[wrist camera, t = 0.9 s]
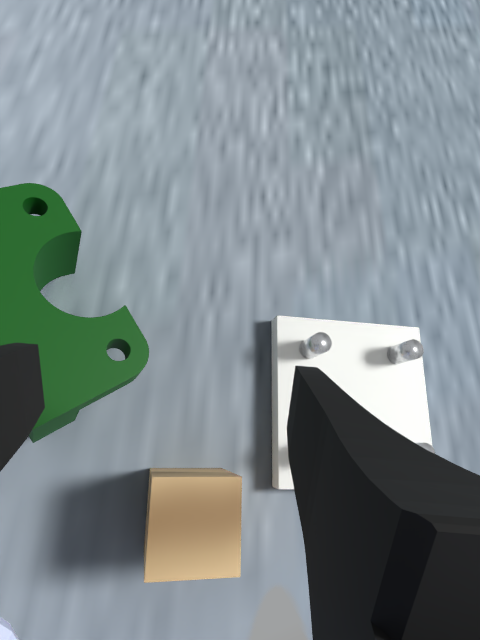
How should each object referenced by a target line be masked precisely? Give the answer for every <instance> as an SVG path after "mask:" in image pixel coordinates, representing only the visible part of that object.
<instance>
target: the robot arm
mask: <svg viewBox="0 0 480 640" xmlns="http://www.w3.org/2000/svg"><path fill="white" fill-rule="evenodd" d="M44 408H45V403H44V394H43V385H42V376H41V366H40V357H39V348H38V344H28V343H11V344H5V345H1V346H0V471H1V470H2V469H3V467H4V466H5V465H6V464H7V463H8V461H9V460H10V459H11V458H12V456H13V455H14V454H15V453H16V451H17V450H18V449H19V448H20V446H21V445H22V444H23V442H24V441H25V440H26V439H27V437H28V436H29V434H30V433H31V431H32V429H33V428H34V426H35V424H36V423H37V421H38V419H39V417H40V416H41V414H42V412H43V410H44ZM287 443H288V458H289V464H290V469H291V475H292V480H293V485H294V490H295V495H296V500H297V506H298V511H299V516H300V521H301V526H302V531H303V538H304V544H305V552H306V563H307V573H308V584H309V596H310V609H311V621H312V634H313V640H480V476H479V475H477V474H475V473H472V472H470V471H468V470H466V469H464V468H462V467H460V466H457V465H455V464H453V463H451V462H449V461H447V460H446V459H444V458H442V457H440V456H438V455H436V454H434V453H432V452H430V451H428V450H426V449H425V448H423V447H421V446H419V445H418V444H416V443H414V442H412V441H411V440H409V439H408V438H406V437H405V436H403V435H401V434H400V433H398V432H397V431H395V430H394V429H392V428H391V427H389V426H388V425H386V424H385V423H383V422H382V421H381V420H379V419H378V418H377V417H375V416H374V415H373V414H371V413H370V412H369V411H367V410H366V409H365V408H364V407H362V406H361V405H360V404H359V403H357V402H356V401H355V400H354V399H353V398H352V397H350V396H349V395H348V394H347V393H346V392H345V391H344V390H342V389H341V388H340V387H339V386H338V385H337V384H336V383H335V382H334V381H333V380H331V379H330V378H329V377H328V376H327V375H326V374H325V373H324V372H323V371H321V370H320V369H319V368H317V367H307V366H295V372H294V379H293V386H292V393H291V400H290V407H289V415H288V422H287ZM0 640H19V639H18V637H17V635H16V633H15V631H14V630H13V628H12V626H11V624H10V623H9V622H7V621H6V620H4V619H3V618H1V617H0Z"/></svg>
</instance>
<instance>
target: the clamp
mask: <svg viewBox="0 0 480 640" xmlns="http://www.w3.org/2000/svg"><path fill="white" fill-rule="evenodd" d="M30 214H38V215H41V216H32V215H30ZM80 238H81V230H80V228H79V226H78V225H77V223H76V221H75V219H74V218H73V216H72V214H71V213H70V211H69V209H68V208H67V206H66V204H65V203H64V201H63V199H62V198H61V197H60V196H59V195H58V194H57V193H56V192H55V191H54V190H52V189H50V188H48V187H46V186H43V185H40V184H34V183H25V184H19V185H14V186H9V187H4V188H0V346H1V345H5V344H11V343H28V344H38V348H39V357H40V366H41V376H42V385H43V394H44V403H45V408H44V410H43V412H42V414H41V416H40V417H39V419H38V421H37V423H36V424H35V426H34V428H33V429H32V431H31V433H30V434H29V437H30V439H31V440H32V442H33V443H34V442H36V441H38V440H39V439H41V438H43V437H45V436H47V435H49V434H50V433H52V432H54V431H56V430H58V429H60V428H61V427H63V426H65V425H67V424H69V423H71V422H72V421H74V420H75V419H76V416H77V414H78V412H79V410H80V409H82V408H84V407H86V406H87V405H89V404H91V403H93V402H95V401H97V400H99V399H101V398H102V397H104V396H106V395H108V394H110V393H112V392H114V391H115V390H117V389H119V388H121V387H123V386H125V385H127V384H129V383H130V382H132V381H133V380H134V379H135V378H136V377H137V376H138V375H139V373H140V372H141V371H142V370H143V368H144V367H145V365H146V363H147V361H148V357H149V348H148V344H147V341H146V339H145V338H144V336H143V334H142V333H141V331H140V329H139V327H138V326H137V324H136V322H135V321H134V319H133V317H132V316H131V314H130V312H129V311H128V309H127V307H126V306H123V307H122V308H121V309H119V310H118V311H116V312H114V313H112V314H109V315H106V316H102V317H94V318H85V317H78V316H74V315H70V314H68V313H65V312H63V311H61V310H59V309H57V308H56V307H54V306H53V305H52V304H50V303H49V302H48V301H47V300H46V299H45V298H44V297H43V295H42V294H41V293H40V291H41V289H42V288H43V287H44V286H45V285H46V284H47V283H49V282H50V281H52V280H54V279H56V278H58V277H61V276H64V275H69V274H74V273H75V268H76V262H77V256H78V250H79V244H80ZM110 348H117V349H120V350H121V351H122V352H123V353H124V355H125V360H123V361H114V360H112V359H111V358H110V357H109V356H108V355H107V352H106V350H108V349H110Z"/></svg>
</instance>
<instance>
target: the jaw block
mask: <svg viewBox="0 0 480 640" xmlns="http://www.w3.org/2000/svg"><path fill="white" fill-rule="evenodd" d="M241 497H242V477H241V476H239V475H237V474H234V473H232V472H229V471H227V470H225V469H222V468H150V475H149V489H148V502H147V515H146V528H145V542H144V583H147V582H164V581H181V580H197V579H214V578H231V577H240V565H241Z"/></svg>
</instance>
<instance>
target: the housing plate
mask: <svg viewBox="0 0 480 640" xmlns="http://www.w3.org/2000/svg"><path fill="white" fill-rule="evenodd" d="M271 330H272V487H274V488H277V489H294V485H293V480H292V475H291V469H290V464H289V458H288V443H287V422H288V415H289V407H290V400H291V393H292V386H293V379H294V372H295V366H307V367H317V368H319V369H320V370H321V371H323V372H324V373H325V374H326V375H327V376H328V377H329V378H330V379H331V380H333V381H334V382H335V383H336V384H337V385H338V386H339V387H340V388H341V389H342V390H344V391H345V392H346V393H347V394H348V395H349V396H350V397H352V398H353V399H354V400H355V401H356V402H357V403H359V404H360V405H361V406H362V407H364V408H365V409H366V410H367V411H369V412H370V413H371V414H373V415H374V416H375V417H377V418H378V419H379V420H381V421H382V422H383V423H385V424H386V425H388V426H389V427H391V428H392V429H394V430H395V431H397V432H398V433H400V434H401V435H403V436H405V437H406V438H408V439H409V440H411V441H412V442H414V443H416V444H418V445H419V446H421V447H423V448H425V449H426V450H428V451H430V452H432V453H434V454H435V451H434V448H433V447H432V440H431V431H430V422H429V413H428V404H427V395H426V387H425V378H424V369H423V360H422V355H423V346H422V344H421V342H420V333H419V328H416V327H404V326H392V325H381V324H369V323H358V322H346V321H334V320H323V319H311V318H299V317H288V316H276V317H275V318H274V319H273V320H272V321H271Z"/></svg>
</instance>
